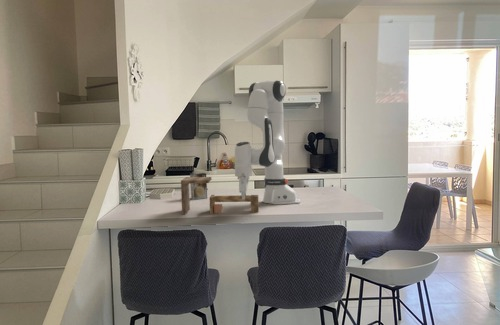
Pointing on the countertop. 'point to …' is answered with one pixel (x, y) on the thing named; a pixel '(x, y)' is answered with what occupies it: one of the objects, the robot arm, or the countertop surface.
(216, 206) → the cube
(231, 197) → the wooden bridge block
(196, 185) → the coffee box
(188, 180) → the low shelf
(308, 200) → the countertop surface
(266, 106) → the robot arm
